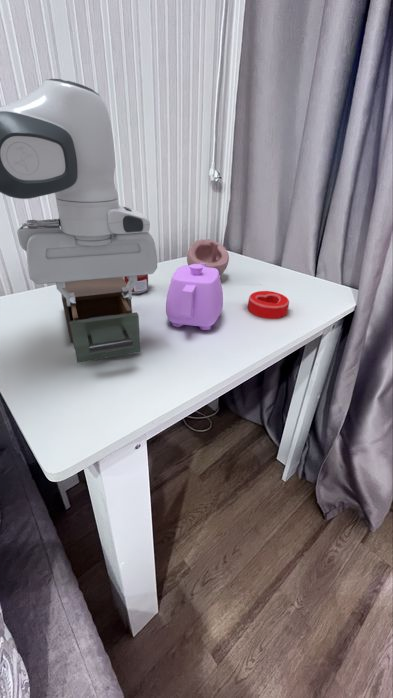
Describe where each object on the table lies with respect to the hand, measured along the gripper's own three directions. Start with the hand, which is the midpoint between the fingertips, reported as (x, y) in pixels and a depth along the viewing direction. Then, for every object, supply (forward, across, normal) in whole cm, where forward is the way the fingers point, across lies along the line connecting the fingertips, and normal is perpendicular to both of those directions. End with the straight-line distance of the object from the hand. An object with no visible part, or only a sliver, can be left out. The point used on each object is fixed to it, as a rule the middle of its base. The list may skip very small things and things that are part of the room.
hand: (100, 301), depth 58 cm
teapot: (+10, +21, +7) cm, 25 cm away
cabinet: (+10, 0, +12) cm, 16 cm away
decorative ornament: (+10, +40, +6) cm, 42 cm away
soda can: (+11, +12, +27) cm, 32 cm away
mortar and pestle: (+10, +34, +30) cm, 47 cm away
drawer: (+9, 0, +1) cm, 10 cm away
